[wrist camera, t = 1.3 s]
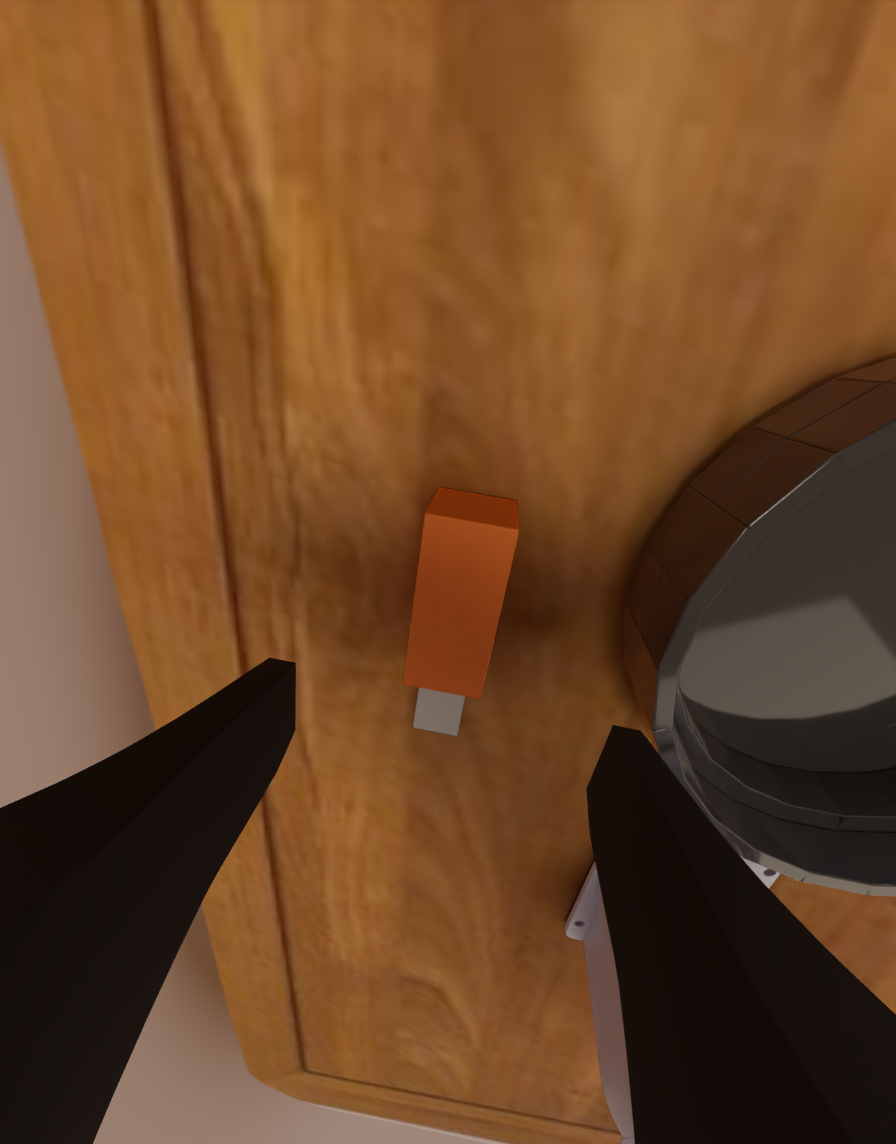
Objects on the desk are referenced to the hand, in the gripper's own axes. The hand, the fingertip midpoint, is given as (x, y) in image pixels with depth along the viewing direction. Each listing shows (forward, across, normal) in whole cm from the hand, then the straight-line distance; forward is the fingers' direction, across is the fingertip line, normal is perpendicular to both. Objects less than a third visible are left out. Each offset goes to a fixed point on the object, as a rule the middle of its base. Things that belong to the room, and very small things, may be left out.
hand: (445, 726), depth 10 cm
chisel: (+8, 0, +2) cm, 8 cm away
